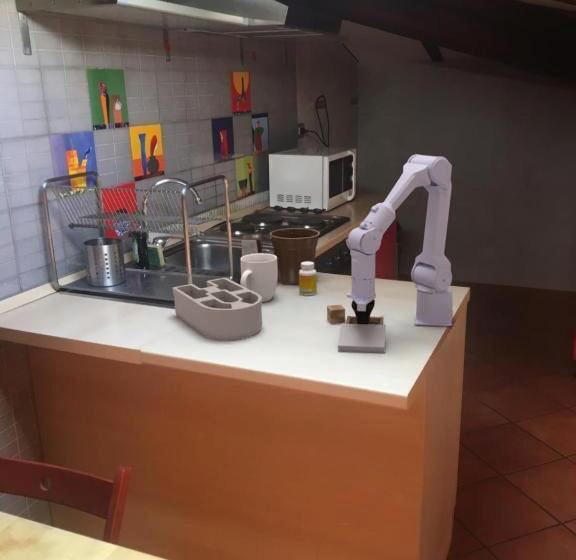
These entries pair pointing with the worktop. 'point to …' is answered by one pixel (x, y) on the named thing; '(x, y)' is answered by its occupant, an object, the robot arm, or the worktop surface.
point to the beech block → (336, 314)
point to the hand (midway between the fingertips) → (363, 329)
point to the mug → (260, 274)
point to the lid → (362, 338)
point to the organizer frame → (371, 321)
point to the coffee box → (251, 244)
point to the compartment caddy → (220, 309)
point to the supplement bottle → (307, 279)
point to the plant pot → (293, 251)
